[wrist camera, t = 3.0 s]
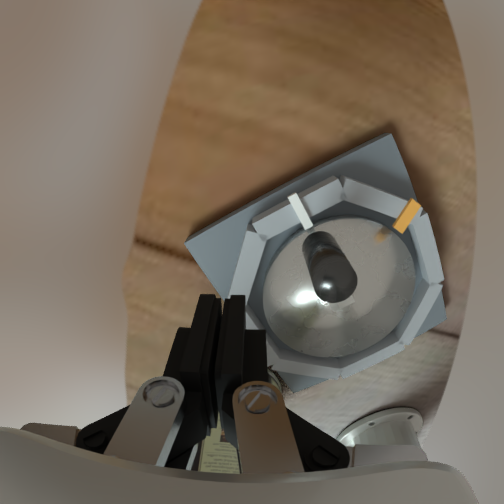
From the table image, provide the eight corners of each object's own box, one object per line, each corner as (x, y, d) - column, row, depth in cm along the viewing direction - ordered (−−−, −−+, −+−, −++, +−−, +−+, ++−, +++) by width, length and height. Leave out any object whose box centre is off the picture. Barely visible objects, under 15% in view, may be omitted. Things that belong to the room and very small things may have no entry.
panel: (441, 312, 25) (454, 329, 22) (292, 384, 29) (294, 405, 26) (384, 132, 19) (401, 134, 17) (187, 237, 23) (178, 252, 20)
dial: (422, 309, 23) (453, 352, 18) (302, 367, 26) (310, 420, 20) (381, 185, 20) (423, 208, 14) (232, 263, 22) (224, 310, 16)
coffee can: (201, 420, 32) (184, 525, 19) (169, 360, 28) (130, 486, 15) (288, 413, 31) (296, 525, 18) (274, 349, 27) (280, 491, 14)
